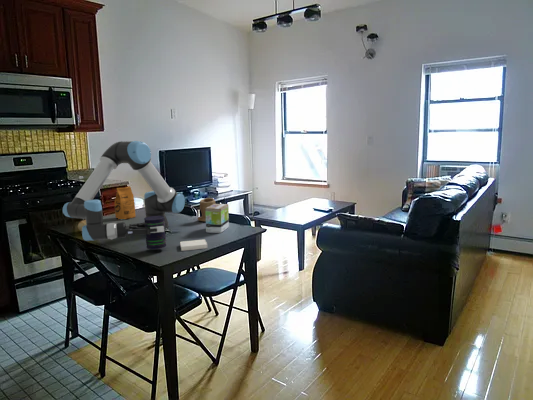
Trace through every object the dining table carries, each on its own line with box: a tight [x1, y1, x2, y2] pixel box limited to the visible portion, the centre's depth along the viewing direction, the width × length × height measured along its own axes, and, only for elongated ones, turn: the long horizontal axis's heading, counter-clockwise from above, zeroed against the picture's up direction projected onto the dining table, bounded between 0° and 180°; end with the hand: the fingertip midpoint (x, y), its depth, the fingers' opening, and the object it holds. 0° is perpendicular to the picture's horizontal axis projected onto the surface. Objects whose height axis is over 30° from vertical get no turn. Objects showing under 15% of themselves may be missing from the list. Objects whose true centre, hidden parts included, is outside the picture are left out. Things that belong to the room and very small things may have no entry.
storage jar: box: [143, 216, 167, 250], centre depth 202 cm, size 10×10×15 cm
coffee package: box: [114, 185, 137, 220], centre depth 280 cm, size 10×12×22 cm
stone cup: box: [197, 197, 216, 222], centre depth 266 cm, size 15×12×15 cm
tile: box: [179, 238, 208, 252], centre depth 208 cm, size 2×10×13 cm
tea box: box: [205, 203, 230, 234], centre depth 241 cm, size 15×10×15 cm, turn 168°
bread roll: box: [77, 219, 86, 232], centre depth 244 cm, size 10×15×8 cm, turn 44°
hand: (163, 226), depth 203 cm, fingers closed on storage jar, 10 cm apart
